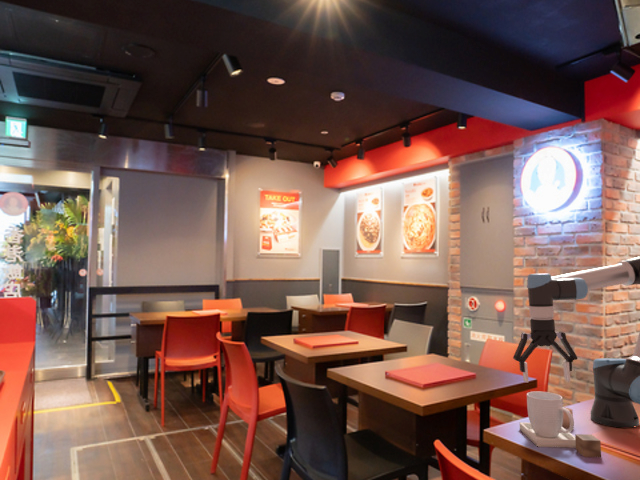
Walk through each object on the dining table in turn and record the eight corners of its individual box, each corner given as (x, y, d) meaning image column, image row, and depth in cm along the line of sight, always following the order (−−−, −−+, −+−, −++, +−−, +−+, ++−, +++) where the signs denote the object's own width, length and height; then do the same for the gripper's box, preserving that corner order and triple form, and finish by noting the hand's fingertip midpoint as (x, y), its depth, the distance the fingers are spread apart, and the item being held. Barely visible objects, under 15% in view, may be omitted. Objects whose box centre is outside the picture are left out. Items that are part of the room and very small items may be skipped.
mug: (583, 439, 146) (580, 398, 147) (565, 447, 140) (563, 404, 141) (539, 426, 159) (537, 389, 160) (521, 433, 153) (519, 394, 154)
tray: (557, 430, 157) (557, 423, 158) (579, 447, 142) (579, 440, 142) (519, 429, 159) (519, 422, 159) (537, 446, 143) (536, 439, 143)
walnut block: (592, 450, 139) (591, 434, 140) (601, 457, 134) (600, 440, 135) (576, 450, 140) (575, 434, 140) (584, 457, 135) (583, 440, 135)
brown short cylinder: (569, 423, 164) (568, 407, 164) (576, 428, 159) (575, 411, 159) (555, 423, 164) (554, 407, 165) (561, 428, 159) (560, 411, 160)
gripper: (574, 316, 156) (579, 377, 154) (501, 318, 158) (505, 379, 156) (585, 318, 148) (590, 383, 147) (508, 320, 150) (512, 384, 149)
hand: (546, 381), depth 152 cm, fingers open, 13 cm apart
